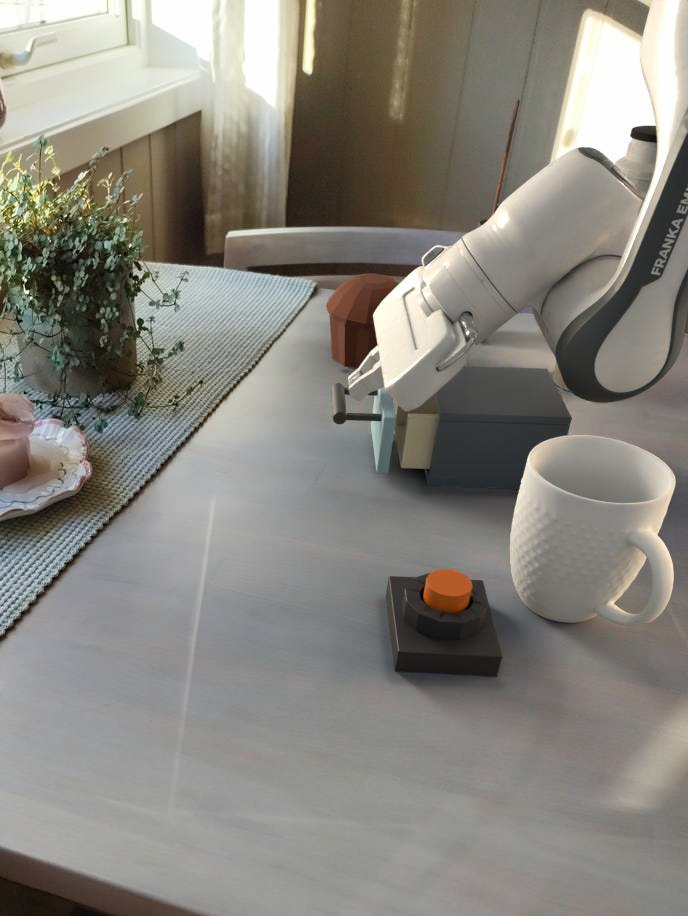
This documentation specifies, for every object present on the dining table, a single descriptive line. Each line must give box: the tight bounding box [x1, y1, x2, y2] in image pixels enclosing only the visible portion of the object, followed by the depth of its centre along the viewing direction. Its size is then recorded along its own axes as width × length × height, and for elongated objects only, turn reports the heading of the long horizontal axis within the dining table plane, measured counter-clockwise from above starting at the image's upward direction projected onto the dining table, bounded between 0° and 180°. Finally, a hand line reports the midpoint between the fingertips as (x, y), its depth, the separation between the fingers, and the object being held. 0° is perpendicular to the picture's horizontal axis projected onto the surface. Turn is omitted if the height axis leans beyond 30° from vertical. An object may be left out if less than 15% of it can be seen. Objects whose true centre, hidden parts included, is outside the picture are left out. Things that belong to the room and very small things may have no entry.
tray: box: [330, 382, 439, 474], centre depth 95 cm, size 16×10×6 cm, turn 85°
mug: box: [509, 434, 676, 627], centre depth 72 cm, size 15×11×13 cm
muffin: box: [325, 272, 400, 369], centre depth 115 cm, size 12×11×10 cm
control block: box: [385, 572, 503, 678], centre depth 73 cm, size 8×10×4 cm
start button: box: [423, 568, 473, 613], centre depth 72 cm, size 4×4×2 cm
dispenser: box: [424, 365, 573, 490], centre depth 94 cm, size 13×12×8 cm
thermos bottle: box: [552, 125, 657, 393], centre depth 103 cm, size 8×8×28 cm
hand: (351, 390), depth 93 cm, fingers closed
